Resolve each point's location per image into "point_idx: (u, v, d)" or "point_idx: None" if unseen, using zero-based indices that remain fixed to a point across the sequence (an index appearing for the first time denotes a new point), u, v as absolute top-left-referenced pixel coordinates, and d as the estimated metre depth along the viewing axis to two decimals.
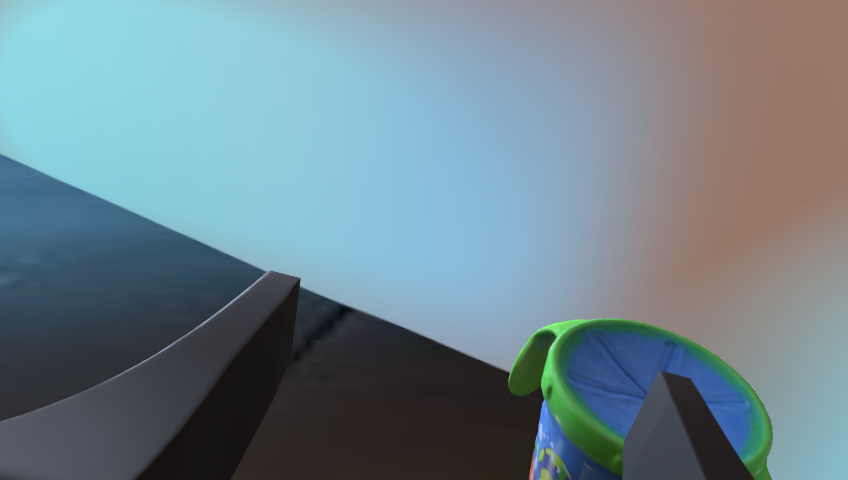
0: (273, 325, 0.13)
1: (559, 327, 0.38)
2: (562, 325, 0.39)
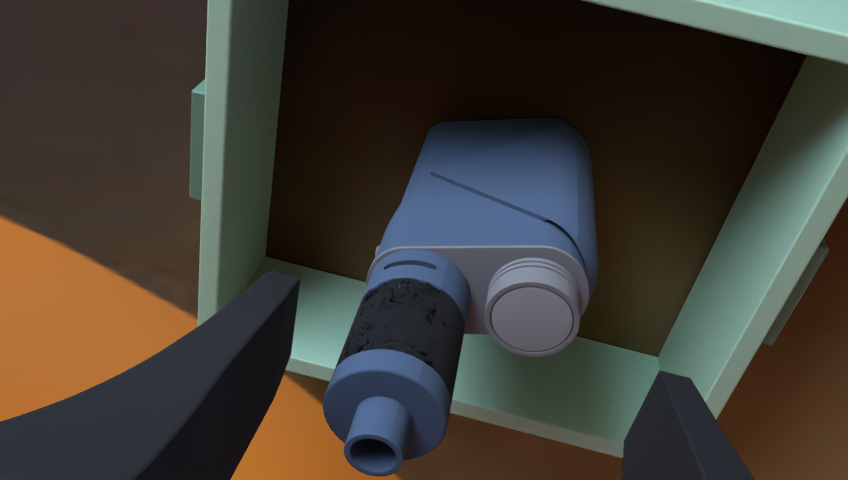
0: (273, 325, 0.13)
1: None
2: None
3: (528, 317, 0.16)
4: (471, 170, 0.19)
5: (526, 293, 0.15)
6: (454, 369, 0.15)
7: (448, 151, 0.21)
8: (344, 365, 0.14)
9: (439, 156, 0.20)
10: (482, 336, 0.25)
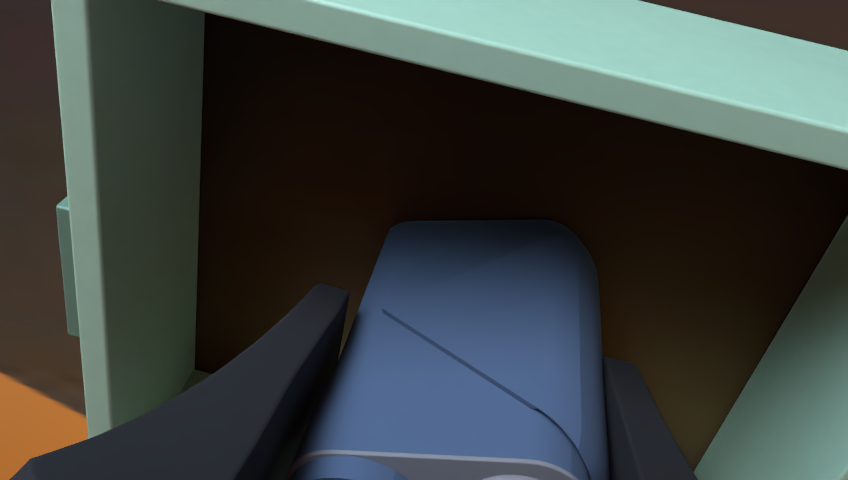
0: (327, 339, 0.13)
1: None
2: None
3: None
4: (436, 309, 0.14)
5: None
6: None
7: (409, 271, 0.16)
8: None
9: (396, 280, 0.15)
10: None
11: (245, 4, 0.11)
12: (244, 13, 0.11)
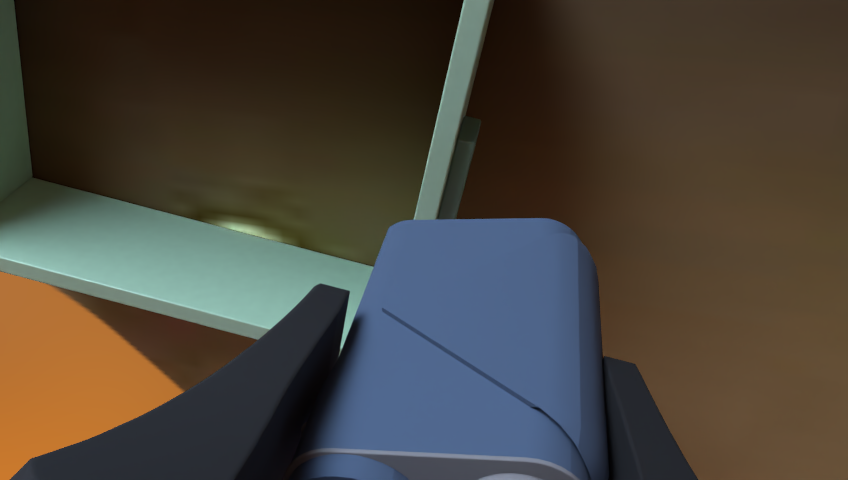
0: (327, 339, 0.13)
1: None
2: None
3: None
4: (436, 308, 0.14)
5: None
6: None
7: (409, 270, 0.16)
8: None
9: (396, 278, 0.15)
10: (230, 252, 0.26)
11: None
12: None
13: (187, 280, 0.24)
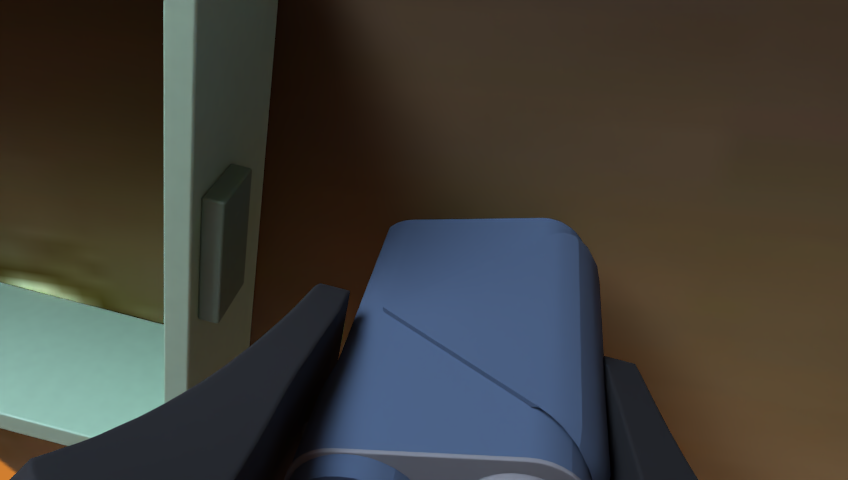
0: (327, 339, 0.13)
1: None
2: None
3: None
4: (437, 308, 0.14)
5: None
6: None
7: (410, 270, 0.16)
8: None
9: (397, 278, 0.15)
10: (10, 317, 0.22)
11: None
12: None
13: None
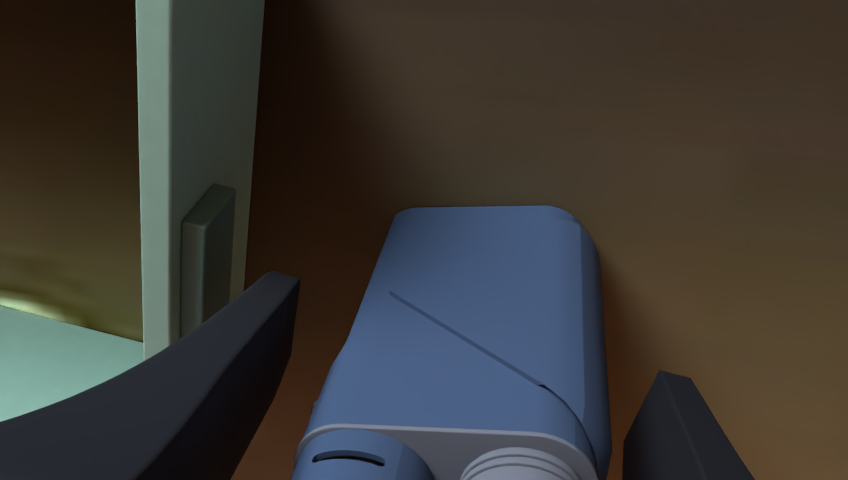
0: (273, 325, 0.13)
1: None
2: None
3: None
4: (442, 291, 0.15)
5: None
6: None
7: (415, 255, 0.16)
8: None
9: (403, 263, 0.16)
10: None
11: None
12: None
13: None
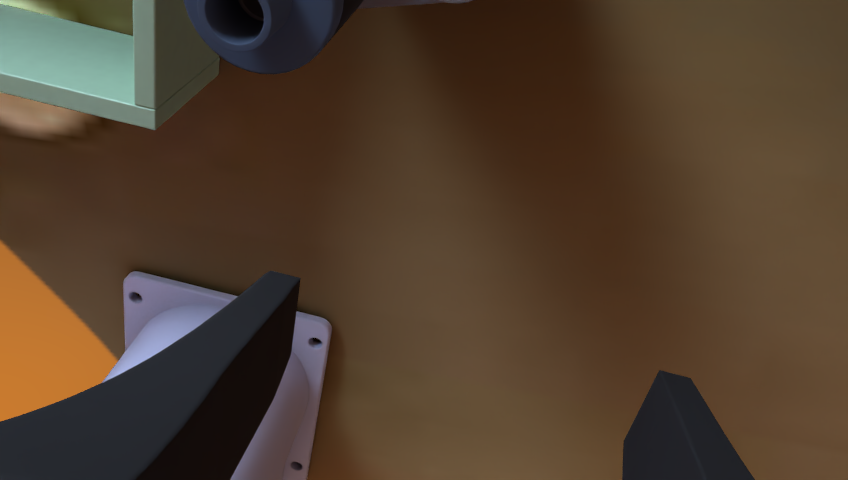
0: (273, 325, 0.13)
1: None
2: None
3: None
4: None
5: None
6: None
7: None
8: None
9: None
10: None
11: None
12: None
13: None
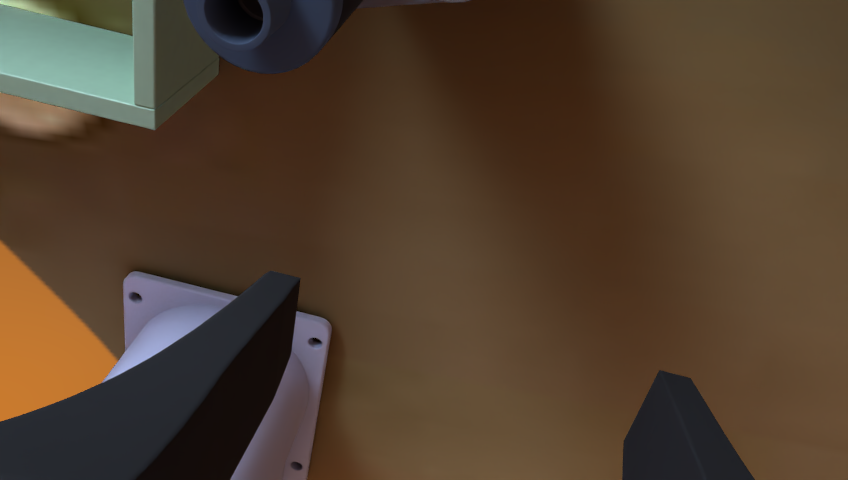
0: (273, 325, 0.13)
1: None
2: None
3: None
4: None
5: None
6: None
7: None
8: None
9: None
10: None
11: None
12: None
13: None
